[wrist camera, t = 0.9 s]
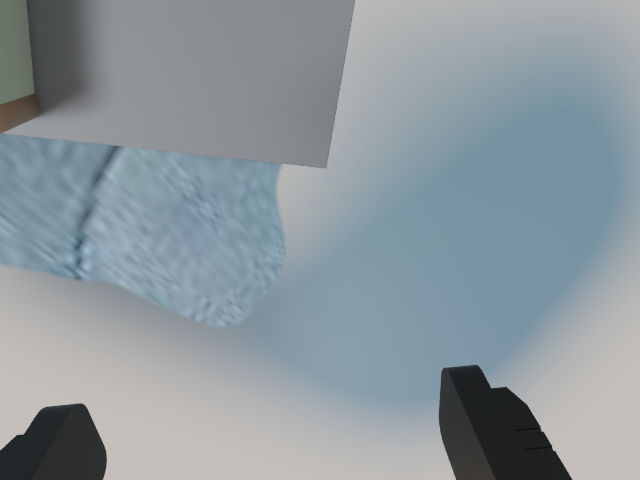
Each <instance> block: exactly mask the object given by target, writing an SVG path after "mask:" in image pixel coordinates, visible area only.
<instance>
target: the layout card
mask: <svg viewBox="0 0 640 480" xmlns="http://www.w3.org/2000/svg"><path fill="white" fill-rule="evenodd" d="M26 3H27V14H28V25H29V36H30V47H31V59H32V70H33V81H34V92H35V94H36V96H37V97H38V99H39V101H40V112H39V114H38V115H37V117H35V118H34V119H32V120H30V121H28V122H25V123H23V124H21V125H19V126H17V127H14V128H12V129H10V130H8V131H6V132H3V133H4V134H13V135H23V136H32V137H41V138H50V139H60V140H69V141H78V142H87V143H97V144H106V145H115V146H124V147H134V148H143V149H152V150H161V151H171V152H180V153H189V154H198V155H208V156H217V157H226V158H235V159H245V160H254V161H263V162H272V163H282V164H292V165H300V166H310V167H319V168H326V166H327V160H328V154H329V148H330V143H331V137H332V131H333V126H334V120H335V114H336V108H337V102H338V96H339V91H340V85H341V78H342V73H343V67H344V61H345V55H346V49H347V44H348V38H349V32H350V27H351V21H352V15H353V9H354V3H355V0H26Z"/></svg>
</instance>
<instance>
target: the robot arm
mask: <svg viewBox="0 0 640 480" xmlns="http://www.w3.org/2000/svg"><path fill="white" fill-rule="evenodd" d="M439 425H440V431H441V436H442V440H443V443H444V446H445V449H446V452H447V455H448V458H449V460H450V463H451V466H452V469H453V472H454V475H455V477H456V480H572V479H571V477H570V475H569V473H568V472H567V470H566V468H565V467H564V465H563V463H562V462H561V460H560V458H559V457H558V455H557V454H556V452H555V451H553V449H552V445H551V444H550V442H549V440H548V439H547V437H546V435H545V434H544V432H542V431H541V428H540V425H539V424H538V422H537V420H536V419H535V417H534V416H533V414H532V412H531V411H530V409H529V407H528V406H527V405H526V404H525V403H524V402H523V401H522V400H521V399H520V398H518V397H517V396H516V395H515V394H514V393H513V392H511V391H510V390H509V389H508V388H507V387H501V388H492V389H491V387H490V385H489V383H488V381H487V379H486V377H485V376H484V374H483V372H482V370H481V369H480V367H479V366H477V365H470V366H460V367H450V368H443V370H442V374H441V389H440V406H439ZM106 457H107V456H106V450H105V447H104V444H103V442H102V440H101V438H100V436H99V434H98V431H97V429H96V427H95V425H94V422H93V420H92V418H91V416H90V414H89V411H88V409H87V408H86V406H85V405H83V404H71V405H60V406H50V407H45V408H43V409H41V411H40V412H38V414H37V415H36V417H35V418H34V420H33V421H32V423H31V425H30V426H29V428H28V429H27V431H26V432H25V434H24V435H17V436H16V437H15V438H13V439H12V440H11V441H10V442H9V443H8V444H7V445H6V446H5V447H4V448H3V449H2V450H0V480H103V478H104V474H105V470H106V462H107V458H106Z"/></svg>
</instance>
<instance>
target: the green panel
mask: <svg viewBox="0 0 640 480" xmlns="http://www.w3.org/2000/svg"><path fill="white" fill-rule="evenodd" d="M39 112H40V101H39V99H38V97H37V96H36V94H35V92H34V81H33V70H32V59H31V47H30V36H29V25H28V14H27V3H26V0H0V134H1V133H3V132H6V131H8V130H10V129H12V128H14V127H17V126H19V125H21V124H23V123H25V122H28V121H30V120H32V119H34V118H35V117H37V115H38V114H39Z"/></svg>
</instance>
